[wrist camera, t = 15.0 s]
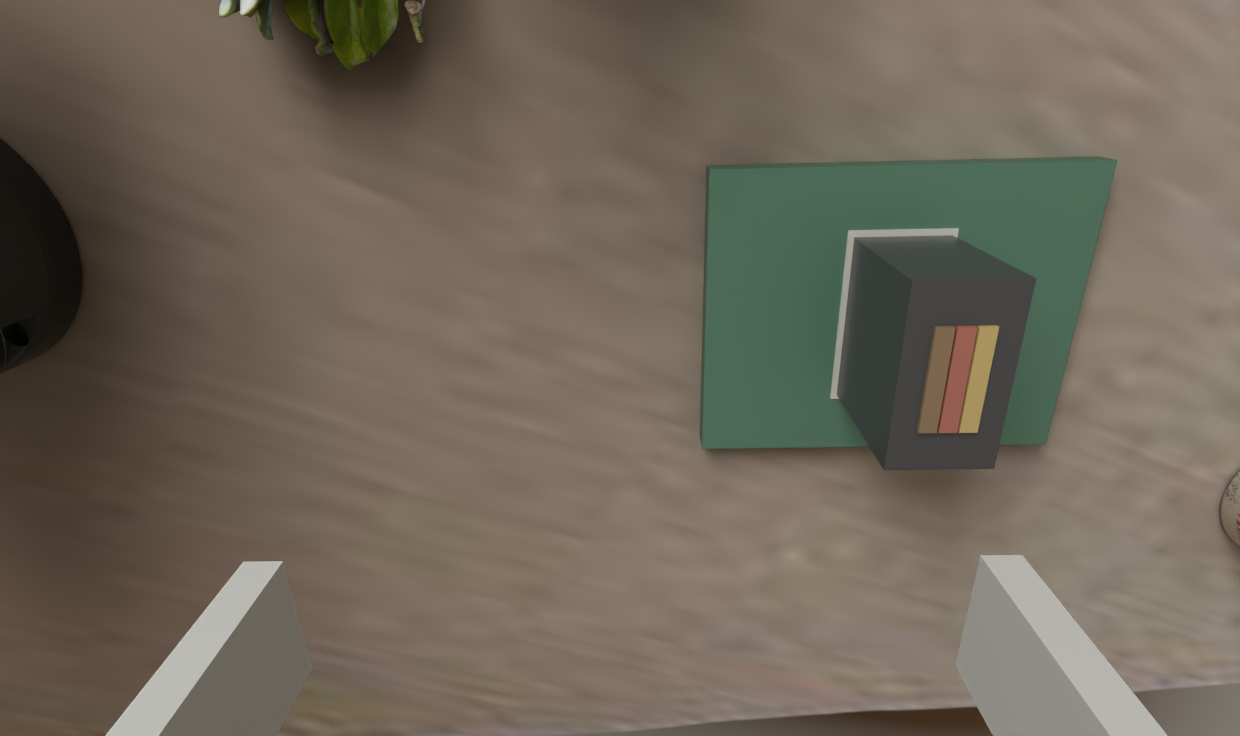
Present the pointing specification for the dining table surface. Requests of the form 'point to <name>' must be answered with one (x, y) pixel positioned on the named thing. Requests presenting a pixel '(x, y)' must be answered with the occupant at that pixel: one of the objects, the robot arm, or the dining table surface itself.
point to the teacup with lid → (1232, 509)
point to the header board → (820, 273)
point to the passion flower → (336, 23)
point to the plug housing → (931, 349)
